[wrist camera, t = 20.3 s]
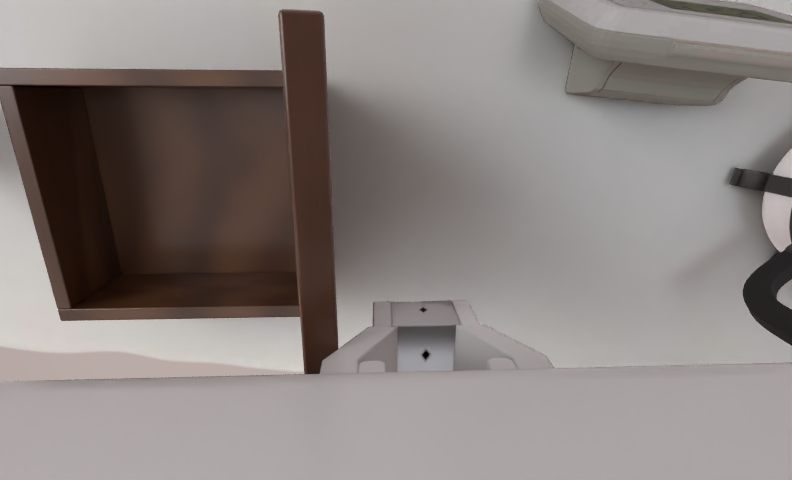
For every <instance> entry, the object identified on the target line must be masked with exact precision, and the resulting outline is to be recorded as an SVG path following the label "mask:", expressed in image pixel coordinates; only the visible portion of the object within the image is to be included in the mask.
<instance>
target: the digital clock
mask: <svg viewBox="0 0 792 480" xmlns="http://www.w3.org/2000/svg"><path fill="white" fill-rule="evenodd" d="M539 9H540V12H541V15H542V17H543V19H544V21H545V22H546V23H548V24H549V25H550V26H551V27H553V28H554V29H555V30H557V31H558V32H559V33H560V34H562V35H563V36H564V37H566V38H567V39H568V40H570V41H571V42H572V43H573V44H575V45H574V50H573V54H572V59H571V64H570V69H569V73H568V78H567V83H566V90H565V91H566V93H569V94H579V95H588V96H597V97H606V98H615V99H624V100H633V101H642V102H651V103H660V104H669V105H690V106H710V105H715V104H717V103H719V102H721V101H722V100H723V98H724V97H725V96H726V95H727V93H728V92H729V91H730V90H731V89H732V88H733V87H734V86H736V85H737V84H739V83H740V82H742V81H743V80H745V79H746V78H748V77H749V78H757V79H766V80H774V81H783V82H791V83H792V16H790V15H786V14H782V13H779V12H775V11H772V10H768V9H765V8H761V7H757V6H753V5H749V4H741V3H734V2H726V1H718V0H539Z"/></svg>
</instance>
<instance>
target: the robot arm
mask: <svg viewBox="0 0 792 480" xmlns="http://www.w3.org/2000/svg"><path fill="white" fill-rule="evenodd" d="M0 480H792V363H753V364H711V365H670V366H628V367H587V368H554V366H553V365H552V363H551V362H550V360H549V359H548V357H547V356H545V355H544V354H542V353H540V352H538V351H536V350H534V349H532V348H530V347H528V346H526V345H524V344H522V343H520V342H518V341H516V340H514V339H512V338H510V337H508V336H506V335H504V334H502V333H500V332H498V331H496V330H494V329H492V328H490V327H488V326H486V325H480V324H479V322H478V320H477V318H476V315H475V313H474V311H473V309H472V307H471V305H470V303H469V301H468V300H457V301H451V300H447V301H422V302H390V301H384V302H374V303H373V327H368V328H366V329H365V330H364V331H362V332H361V333H360V334H358V335H357V336H355V337H354V338H353V339H351V340H350V341H349V342H347V343H346V344H345V345H343V346H342V347H340V348H339V349H338V350H336V351H335V352H334V353H332V354H331V355H330V356H328V357H327V358H326V359H324V360H323V361H322V365H321V369H320V374H295V375H256V376H255V375H251V376H215V377H214V376H211V377H172V378H171V377H170V378H169V377H168V378H130V379H128V378H127V379H86V380H46V381H4V382H0Z"/></svg>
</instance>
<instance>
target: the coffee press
mask: <svg viewBox="0 0 792 480" xmlns="http://www.w3.org/2000/svg"><path fill="white" fill-rule="evenodd" d="M729 184H731V185H735V186H740V187H745V188H750V189H755V190H760V191H765V193H764V198H763V204H762V218H763V223H764V227H765V230H766V232H767V235H768V237H769V239H770V240H771V242H772V243H773V245H774V246H775V247H776V248H777V249H778V250H779V251H780V253H778V254H776V255H774V256H773V257H772V258H771V259H770V260H769V261H767V262H766V263H764V264H763V265H762V266H760V267H759V268H758V269H757V270H756V271H755V272H754V273H752V274H751V276H750V277H749V278H748V279H747V281H746V283H745V284H744V288H743V297H744V301H745V303H746V305H747V307H748V309H749V311H750V313H751V314H752V316H753V317H754V318H755V320H756V321H757V322H758V323H759V324H761V325H762V326H763V327H764V328H766V329H767V330H768V331H770V332H771V333H773V334H774V335H776V336H777V337H779V338H780V339H782V340H784V341H785V342H787V343H788V344H790V345H792V310H791V309H790V308H788V307H786V306H784V305H783V304H781V303H780V302H779V301H778V300H777V298H776V297H777V293H778V290H779V289H780V288H781V287H782V286H783V285H784V284H786V283H787V282H788V281H790V280H791V279H792V148H791V149H790V150H789V151H788V153H787V154H786V155H785V156H784V157H783V158H782V160H781V161H780V162H779V164H778V165H777V167H776V168H775V170H774V172H773V174H770V173H764V172H758V171H752V170H746V169H739V168H735V170H734V173H733V176H732V178H731V181H730V183H729Z"/></svg>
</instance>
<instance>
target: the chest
mask: <svg viewBox="0 0 792 480" xmlns="http://www.w3.org/2000/svg"><path fill="white" fill-rule="evenodd" d="M0 101H1V105H2V108H3V112H4V115H5V119H6V123H7V126H8V130H9V134H10V137H11V141H12V145H13V148H14V152H15V155H16V159H17V163H18V166H19V170H20V174H21V177H22V181H23V185H24V188H25V192H26V196H27V199H28V203H29V206H30V210H31V214H32V217H33V221H34V225H35V228H36V232H37V236H38V239H39V243H40V246H41V250H42V254H43V257H44V261H45V265H46V268H47V272H48V276H49V279H50V283H51V286H52V290H53V294H54V297H55V301H56V305H57V308H58V312H59V315H60V319H61V321H77V320H134V319H192V318H249V317H300V304H299V290H298V277H297V263H296V249H295V236H294V222H293V209H292V195H291V181H290V168H289V154H288V140H287V127H286V113H285V99H284V86H283V72H282V71H275V70H166V69H58V68H0Z"/></svg>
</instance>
